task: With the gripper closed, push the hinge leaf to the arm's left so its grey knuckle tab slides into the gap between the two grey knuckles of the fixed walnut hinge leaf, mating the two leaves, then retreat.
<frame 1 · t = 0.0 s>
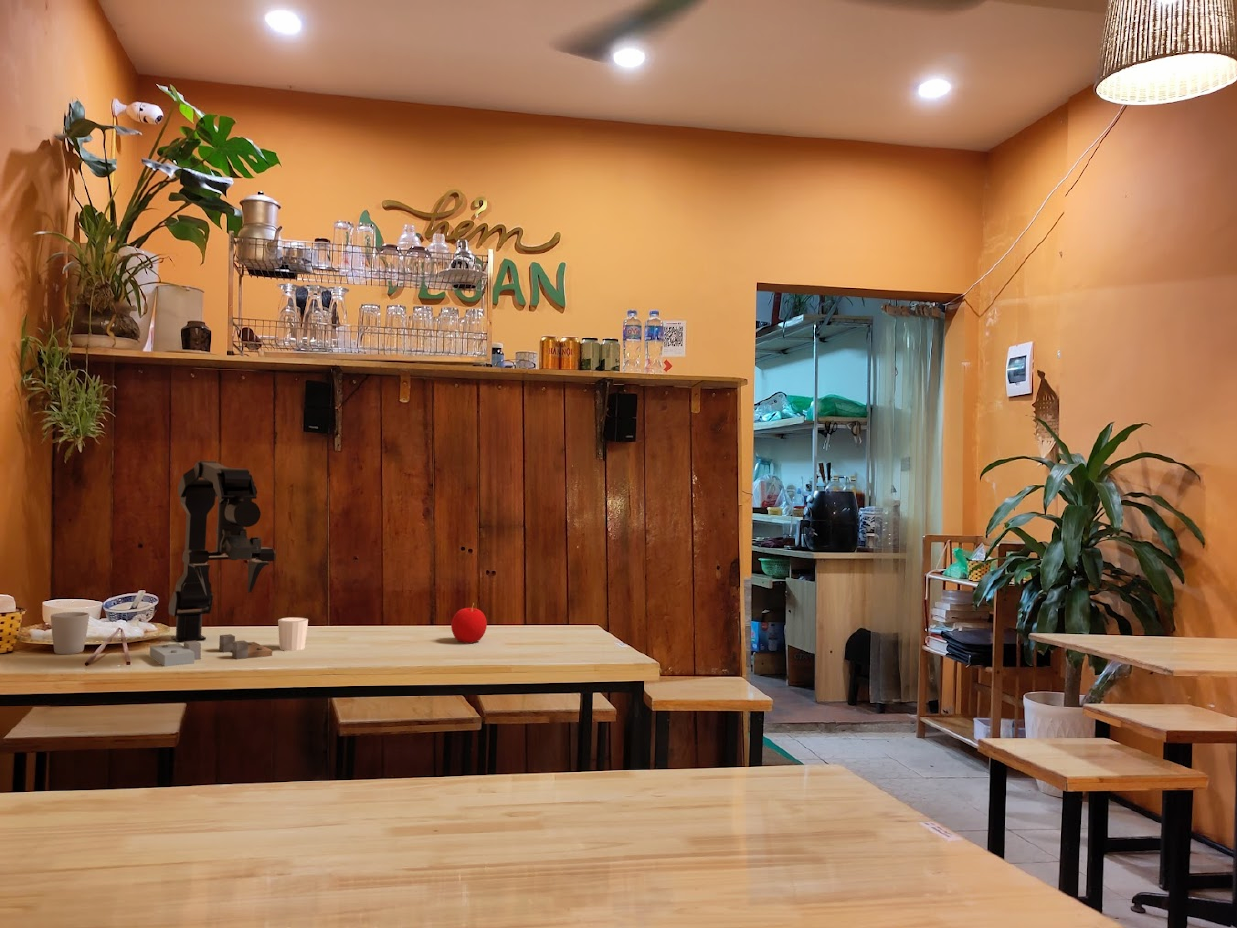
hand: (228, 593, 211), 15 cm above the table, fingers open, 9 cm apart
pale pink tumbler: (292, 649, 226), on the table
leaf a: (245, 652, 219), on the table
fruit: (468, 642, 243), on the table
cup: (70, 651, 214), on the table
leaf b: (171, 660, 209), on the table
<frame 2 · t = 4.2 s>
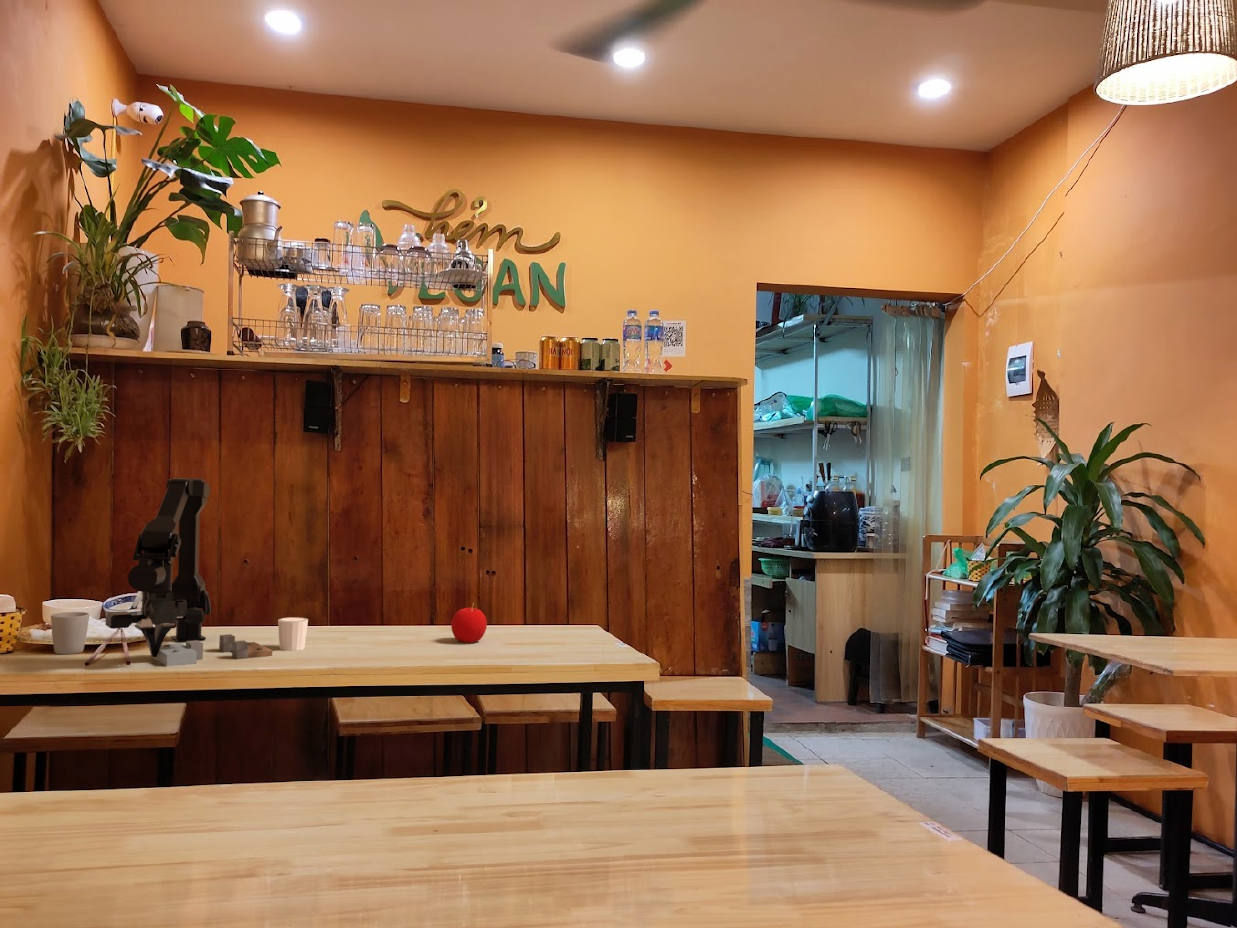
hand: (154, 657, 206), 1 cm above the table, fingers closed
leaf b: (173, 659, 209), on the table, touching gripper
everything else where it was.
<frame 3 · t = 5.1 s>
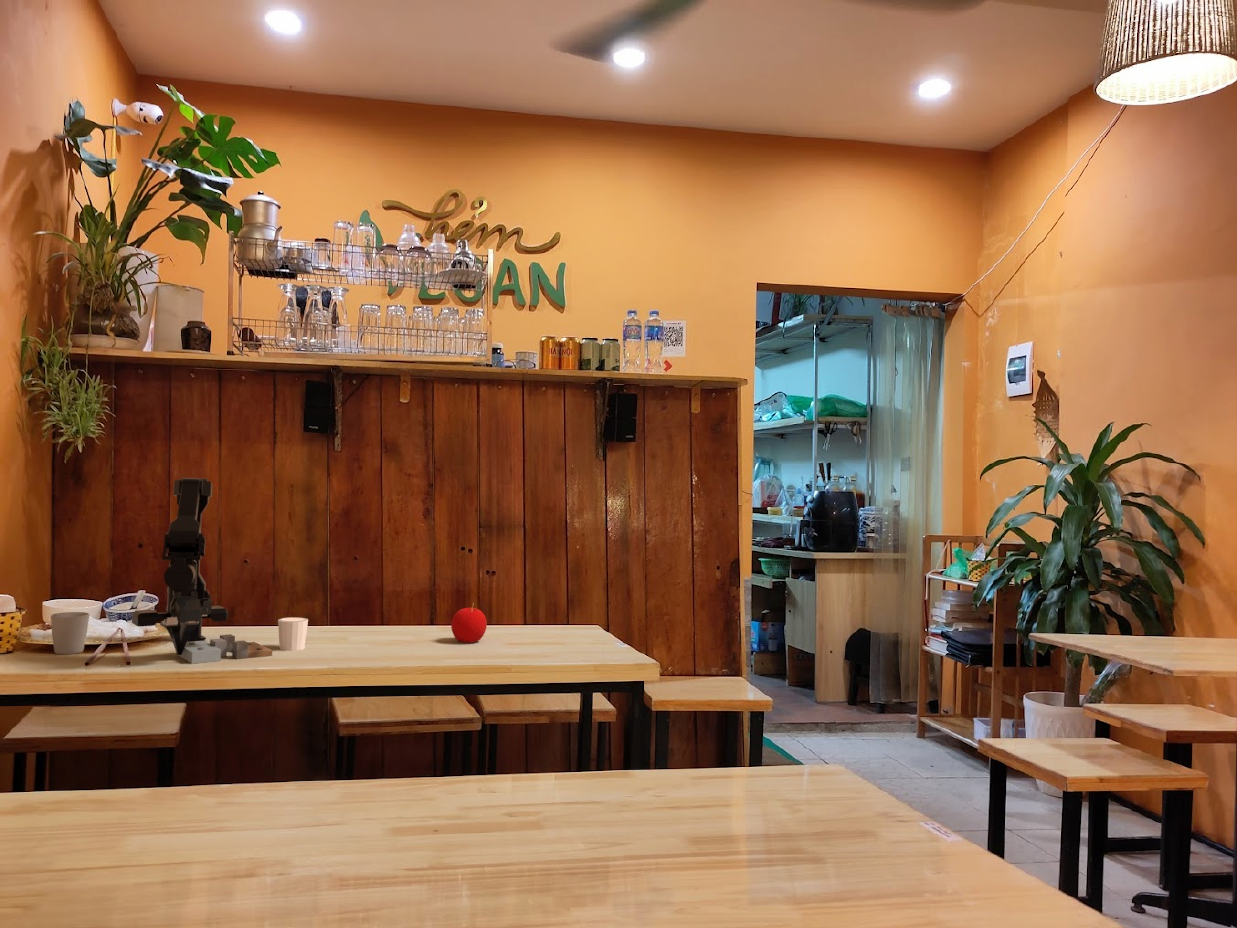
hand: (179, 654, 210), 1 cm above the table, fingers closed
leaf b: (198, 657, 212), on the table, touching gripper
everything else where it was.
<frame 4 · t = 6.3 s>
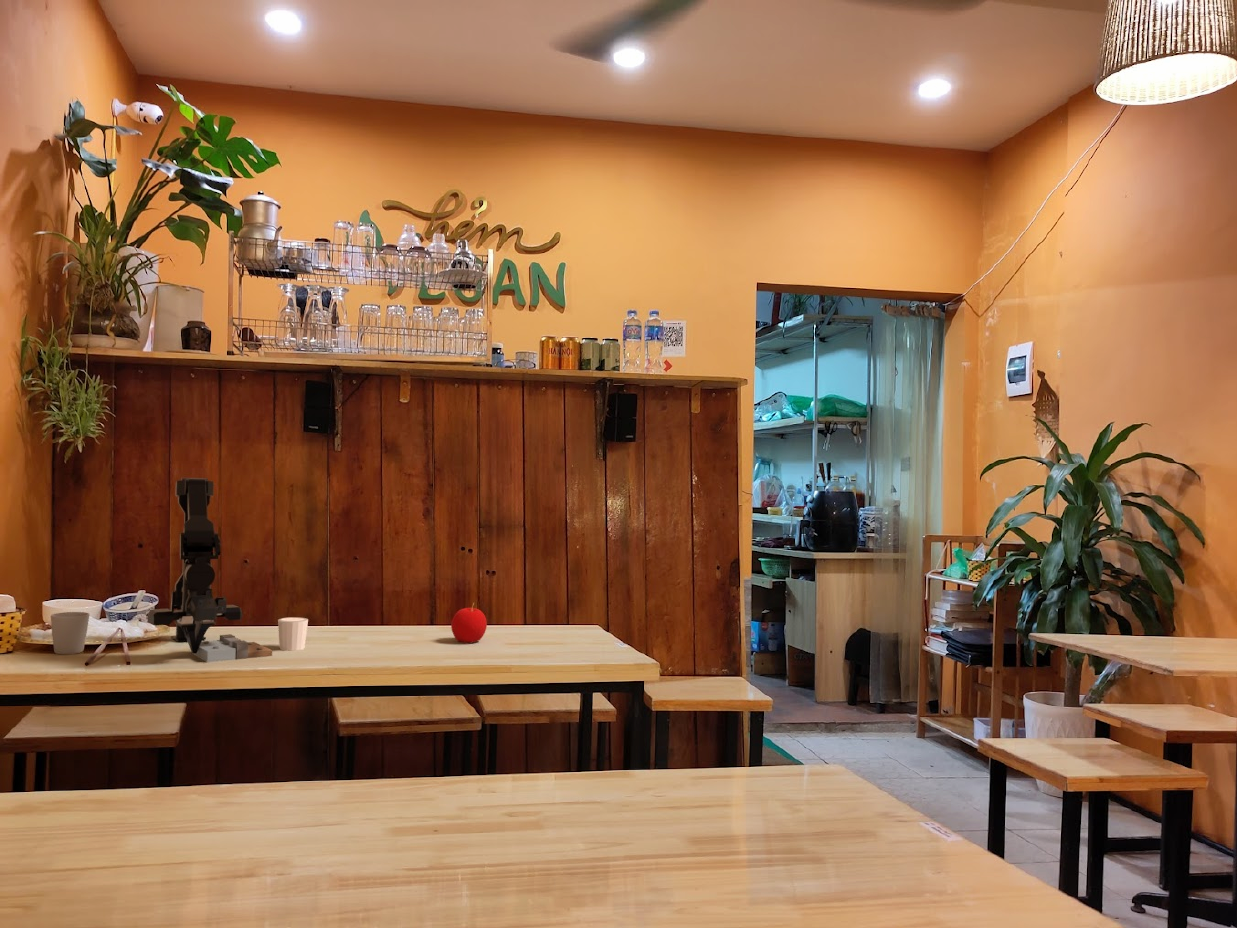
hand: (194, 653, 212), 1 cm above the table, fingers closed
leaf b: (212, 656, 214), on the table, touching gripper
everything else where it was.
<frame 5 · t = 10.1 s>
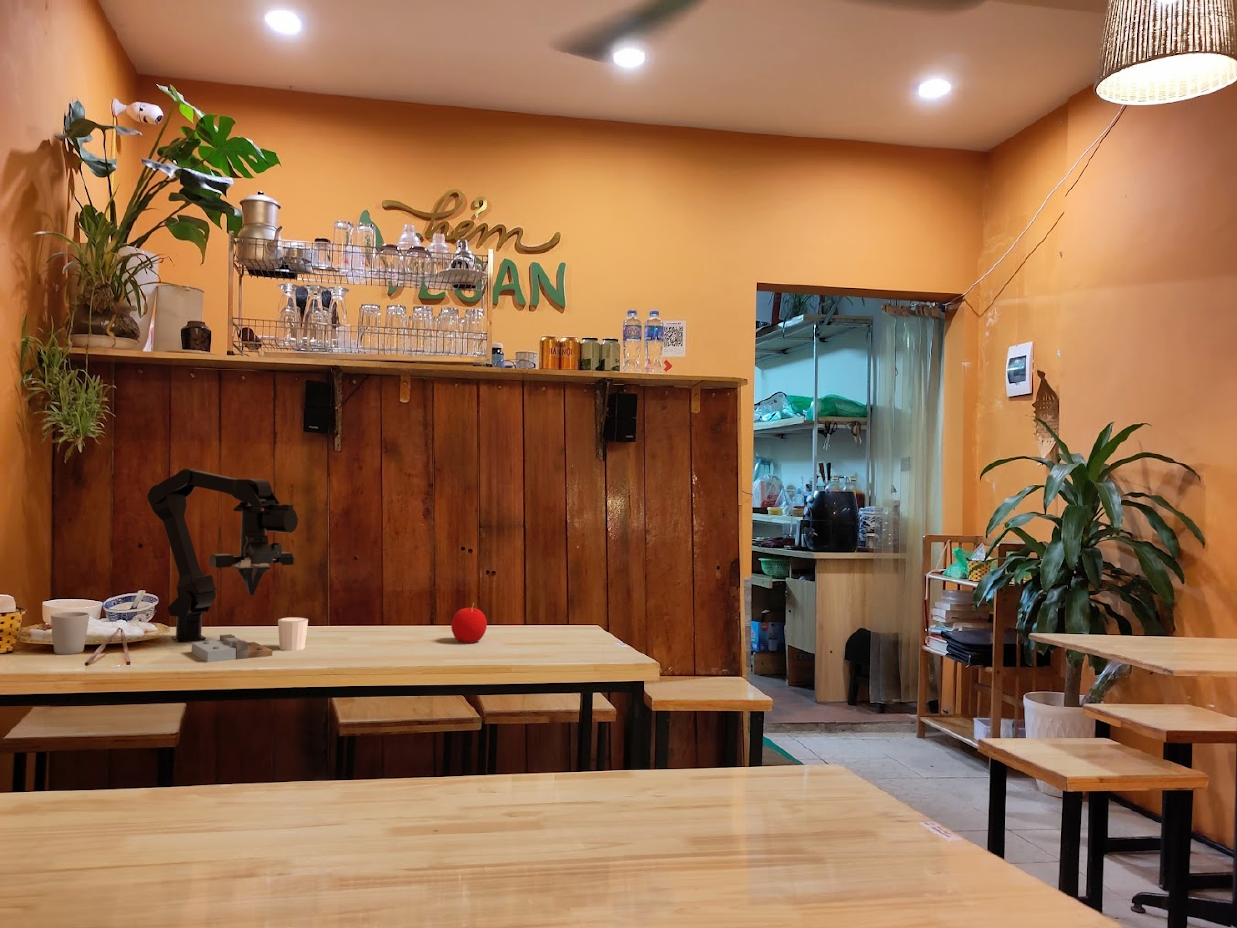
hand: (251, 595, 228), 12 cm above the table, fingers closed
leaf b: (213, 656, 214), on the table
everything else where it was.
at the end: leaf b 0.4 cm from the target spot on the table beside the leaf a, on the table; leaf b tilted 1° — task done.
